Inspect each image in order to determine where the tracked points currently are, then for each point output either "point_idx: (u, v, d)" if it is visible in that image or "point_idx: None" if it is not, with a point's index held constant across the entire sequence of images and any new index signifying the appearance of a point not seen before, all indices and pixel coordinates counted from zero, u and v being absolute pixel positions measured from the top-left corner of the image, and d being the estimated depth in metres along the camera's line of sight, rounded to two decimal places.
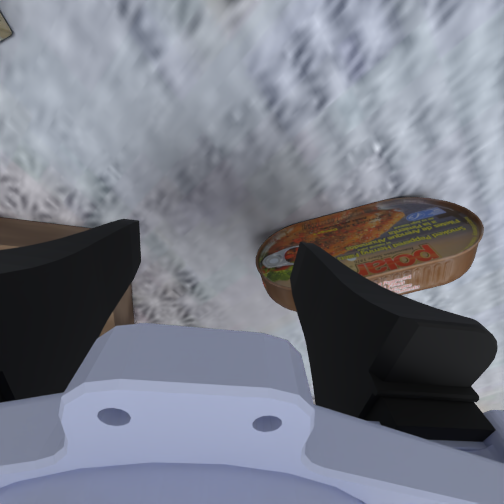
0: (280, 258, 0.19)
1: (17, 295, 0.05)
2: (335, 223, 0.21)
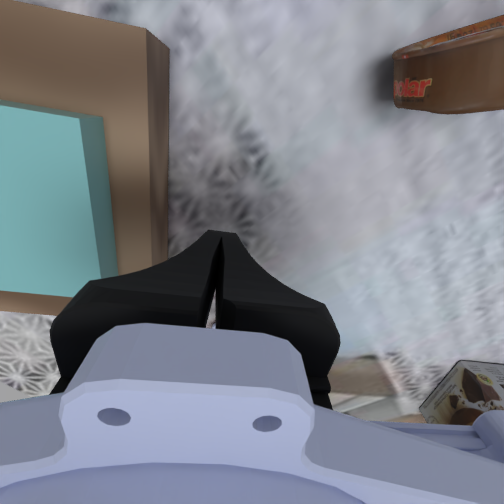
0: None
1: (201, 312, 0.05)
2: None
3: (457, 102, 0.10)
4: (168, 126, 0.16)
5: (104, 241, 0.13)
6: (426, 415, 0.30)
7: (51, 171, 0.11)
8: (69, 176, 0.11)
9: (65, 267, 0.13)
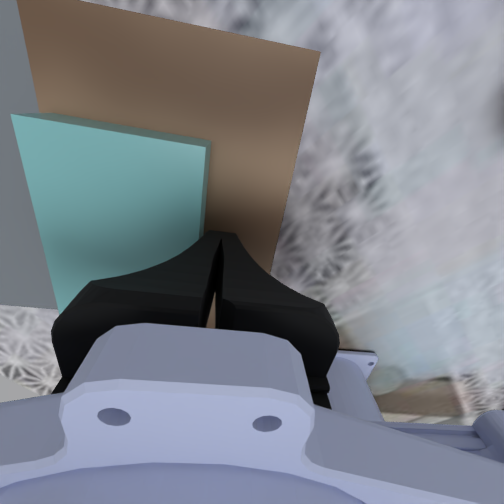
0: None
1: (202, 312, 0.05)
2: None
3: None
4: None
5: None
6: None
7: (162, 204, 0.10)
8: (181, 209, 0.10)
9: None
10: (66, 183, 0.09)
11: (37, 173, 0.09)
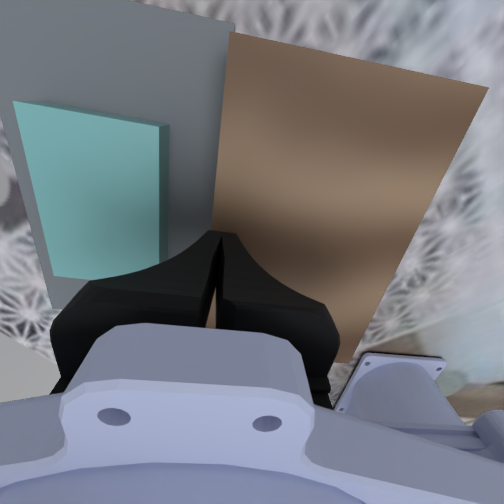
0: None
1: (201, 312, 0.05)
2: None
3: None
4: None
5: None
6: None
7: None
8: None
9: None
10: None
11: None
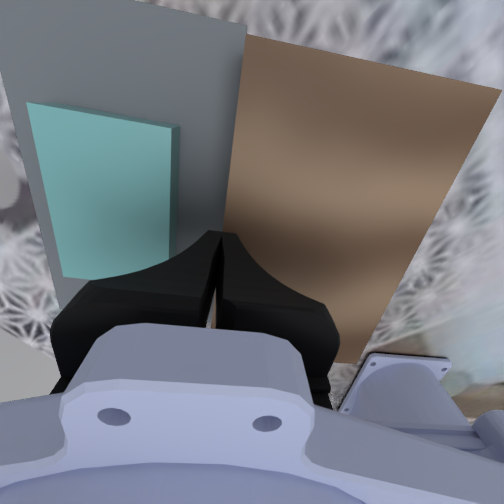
0: None
1: (201, 312, 0.05)
2: None
3: None
4: None
5: None
6: None
7: None
8: None
9: None
10: None
11: None
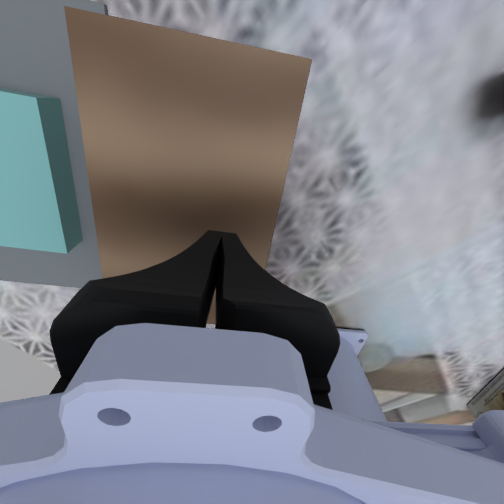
0: None
1: (201, 312, 0.05)
2: None
3: None
4: None
5: None
6: (476, 411, 0.32)
7: None
8: None
9: None
10: None
11: None
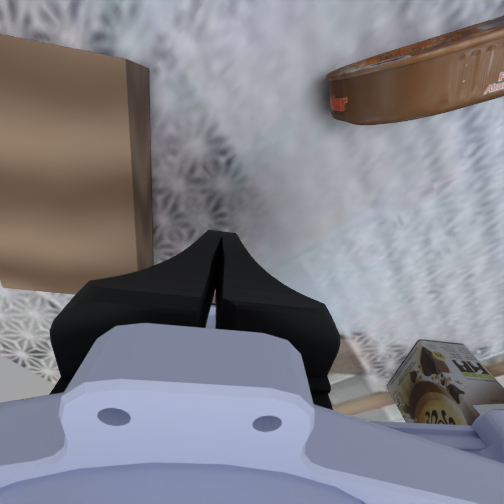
0: None
1: (201, 312, 0.05)
2: (425, 49, 0.16)
3: (364, 116, 0.13)
4: None
5: None
6: (392, 390, 0.33)
7: None
8: None
9: None
10: None
11: None
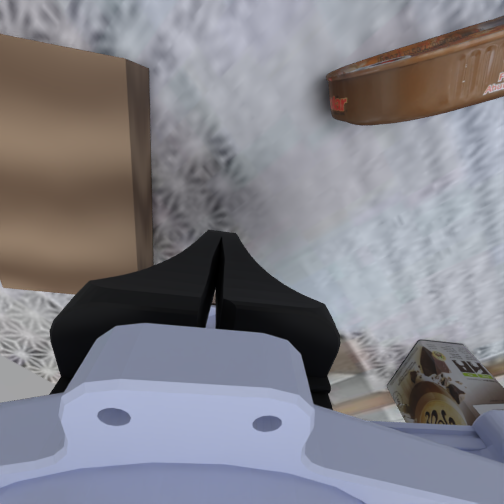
0: (362, 70, 0.14)
1: (201, 312, 0.05)
2: (425, 49, 0.16)
3: (364, 116, 0.13)
4: None
5: None
6: (392, 390, 0.33)
7: None
8: None
9: None
10: None
11: None
